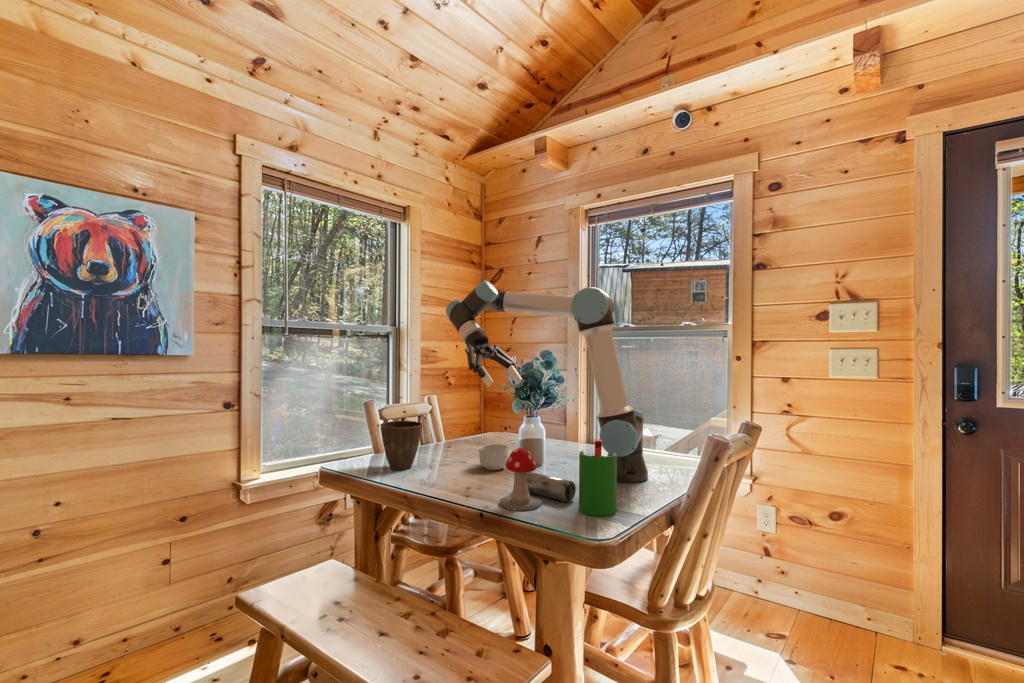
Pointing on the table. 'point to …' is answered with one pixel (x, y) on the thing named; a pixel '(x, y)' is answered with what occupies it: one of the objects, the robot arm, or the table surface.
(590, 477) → the motor
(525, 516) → the table surface
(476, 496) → the table surface
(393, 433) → the plant pot
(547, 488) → the metal pipe
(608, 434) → the robot arm
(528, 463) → the decorative mushroom
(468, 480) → the table surface
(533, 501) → the rubber mat
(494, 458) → the teacup
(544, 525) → the table surface
